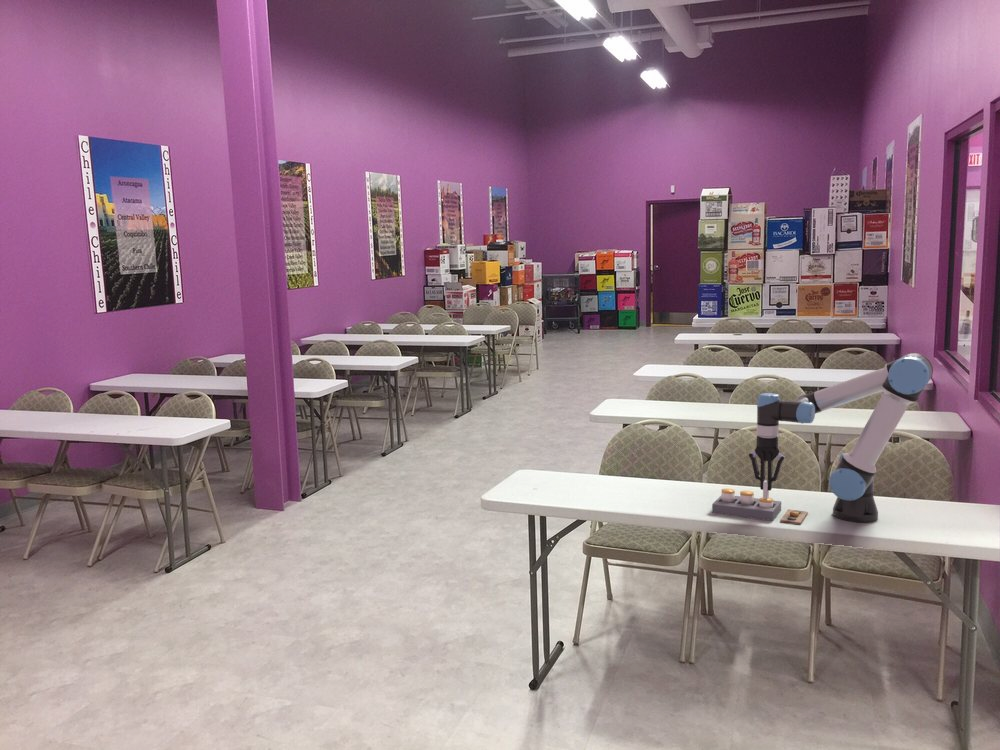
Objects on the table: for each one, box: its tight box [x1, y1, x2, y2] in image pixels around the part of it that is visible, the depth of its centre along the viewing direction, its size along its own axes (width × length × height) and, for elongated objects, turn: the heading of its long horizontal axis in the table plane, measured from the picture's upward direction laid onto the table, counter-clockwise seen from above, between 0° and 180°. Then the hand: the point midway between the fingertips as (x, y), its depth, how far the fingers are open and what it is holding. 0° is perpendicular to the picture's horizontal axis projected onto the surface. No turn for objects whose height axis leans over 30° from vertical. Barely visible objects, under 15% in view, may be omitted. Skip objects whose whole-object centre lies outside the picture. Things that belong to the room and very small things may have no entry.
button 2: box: [758, 496, 774, 508], centre depth 300 cm, size 5×5×4 cm
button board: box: [711, 495, 782, 522], centre depth 304 cm, size 22×14×4 cm, turn 60°
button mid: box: [739, 490, 755, 506], centre depth 304 cm, size 5×5×4 cm
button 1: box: [720, 488, 736, 503], centre depth 307 cm, size 5×5×4 cm
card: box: [779, 508, 809, 525], centre depth 296 cm, size 7×14×2 cm, turn 150°
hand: (765, 498), depth 300 cm, fingers closed
